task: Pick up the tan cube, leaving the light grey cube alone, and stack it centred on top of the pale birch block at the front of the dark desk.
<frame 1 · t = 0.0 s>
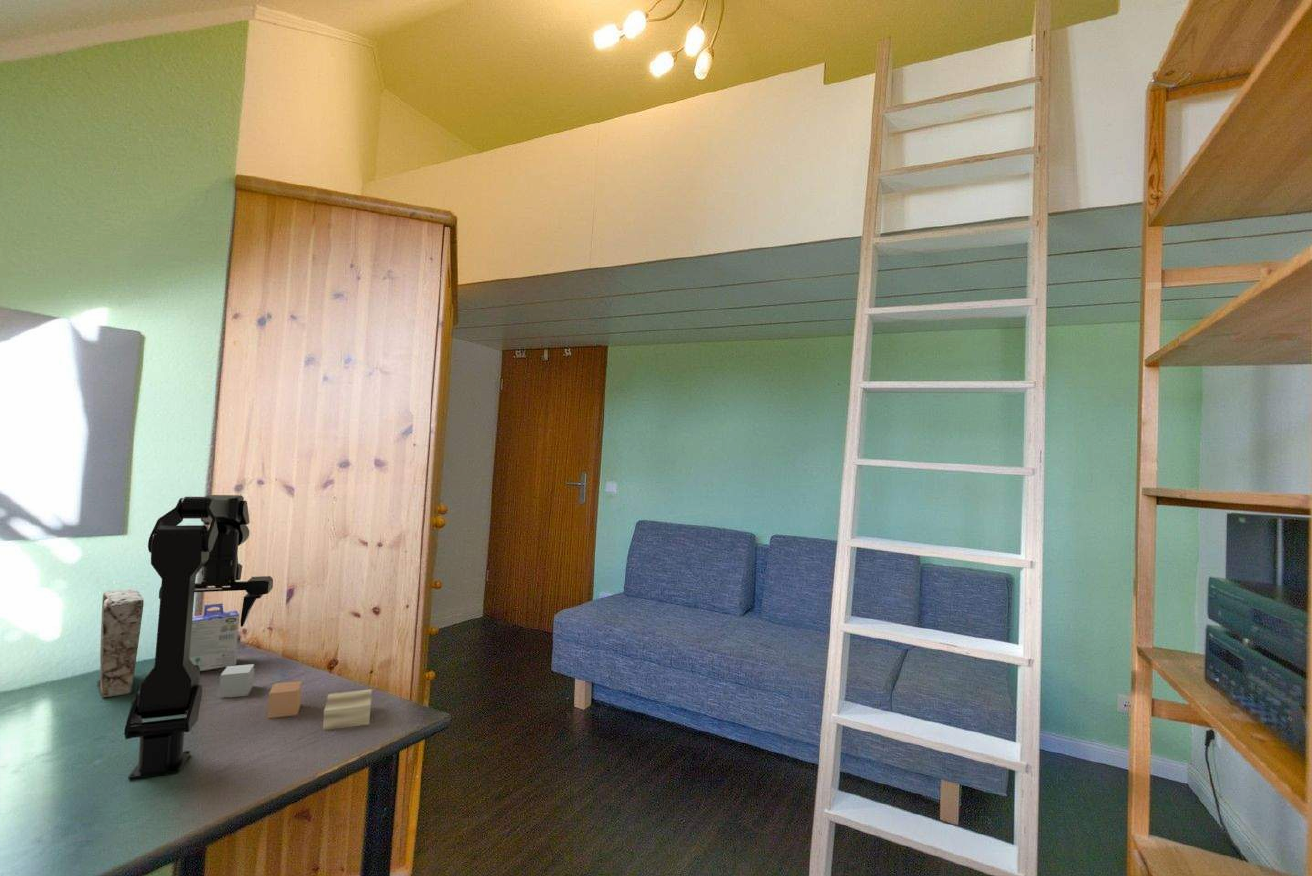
hand: (216, 627, 123), 15 cm above the table, fingers open, 9 cm apart
light grey cube: (236, 692, 126), on the table
birch block: (347, 719, 117), on the table
tan cube: (284, 711, 118), on the table
ink cartridge box: (210, 667, 139), on the table
stone block: (114, 688, 125), on the table
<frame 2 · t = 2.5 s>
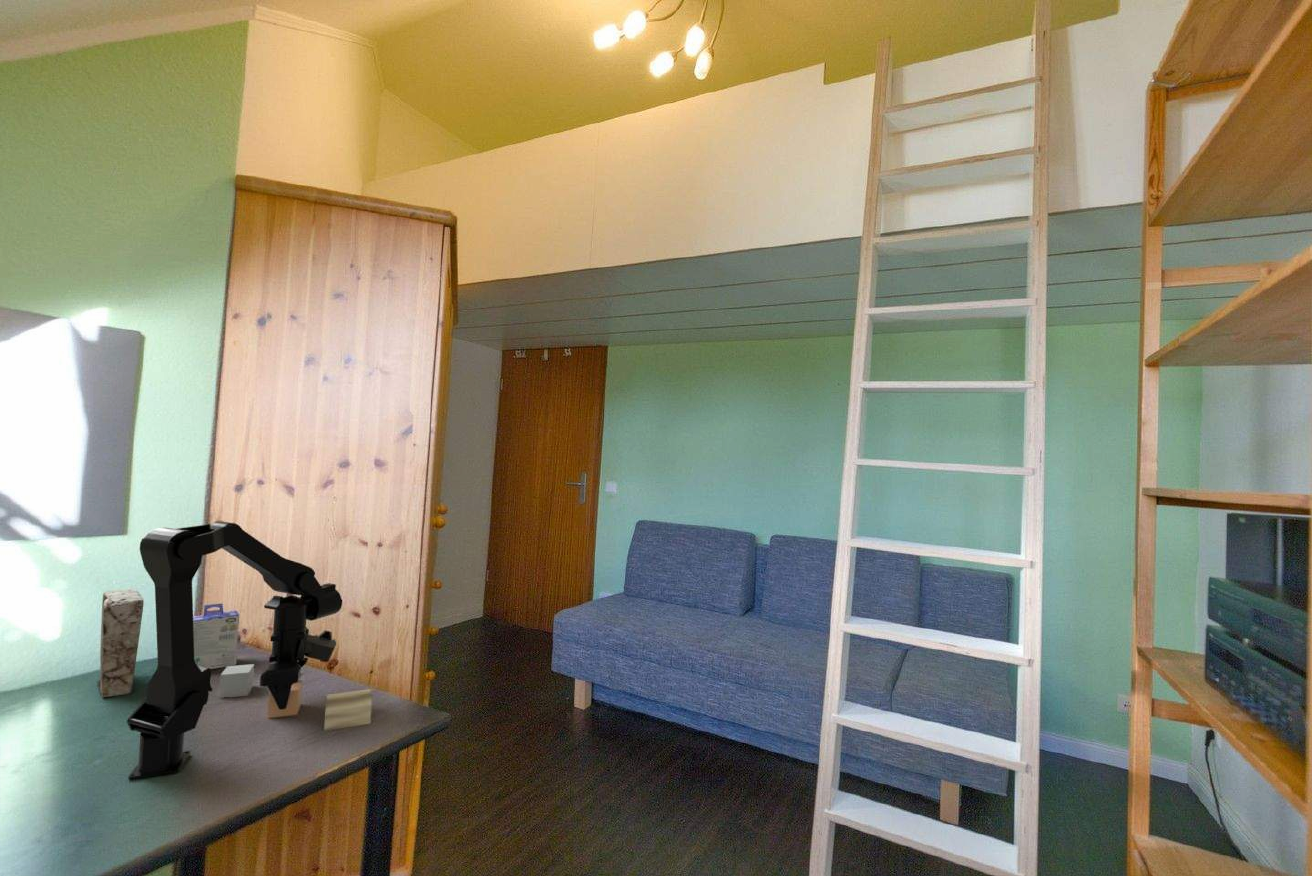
hand: (285, 703, 118), 2 cm above the table, fingers closed on tan cube, 5 cm apart
tan cube: (284, 711, 118), on the table, touching gripper
everything else where it was.
when the fingers open (7 cm above the table, at t = 5.9 s): tan cube drops 2 cm, point 4 cm above the table.
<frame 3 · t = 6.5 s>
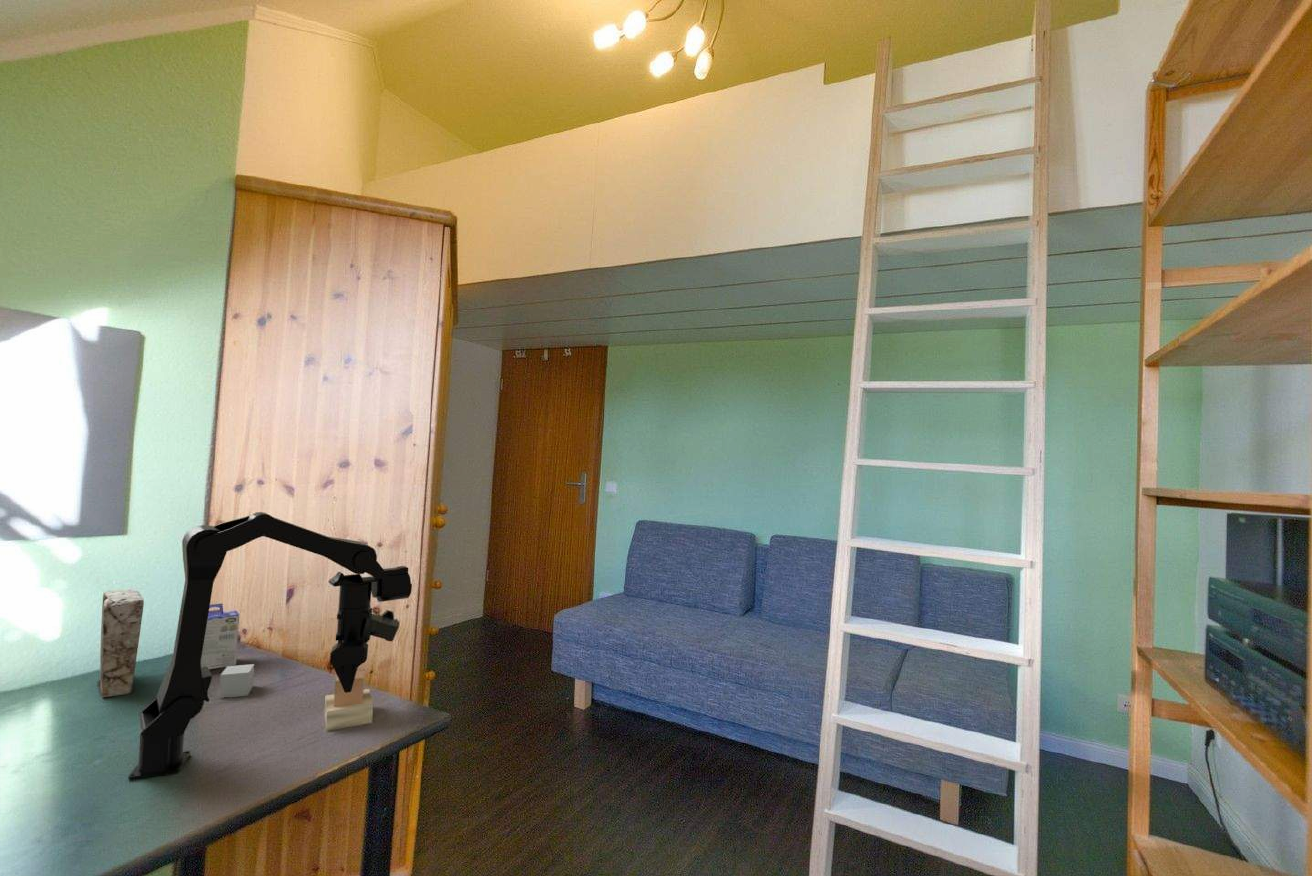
hand: (349, 683, 117), 7 cm above the table, fingers open, 9 cm apart
tan cube: (348, 699, 117), point 4 cm above the table
everything else where it was.
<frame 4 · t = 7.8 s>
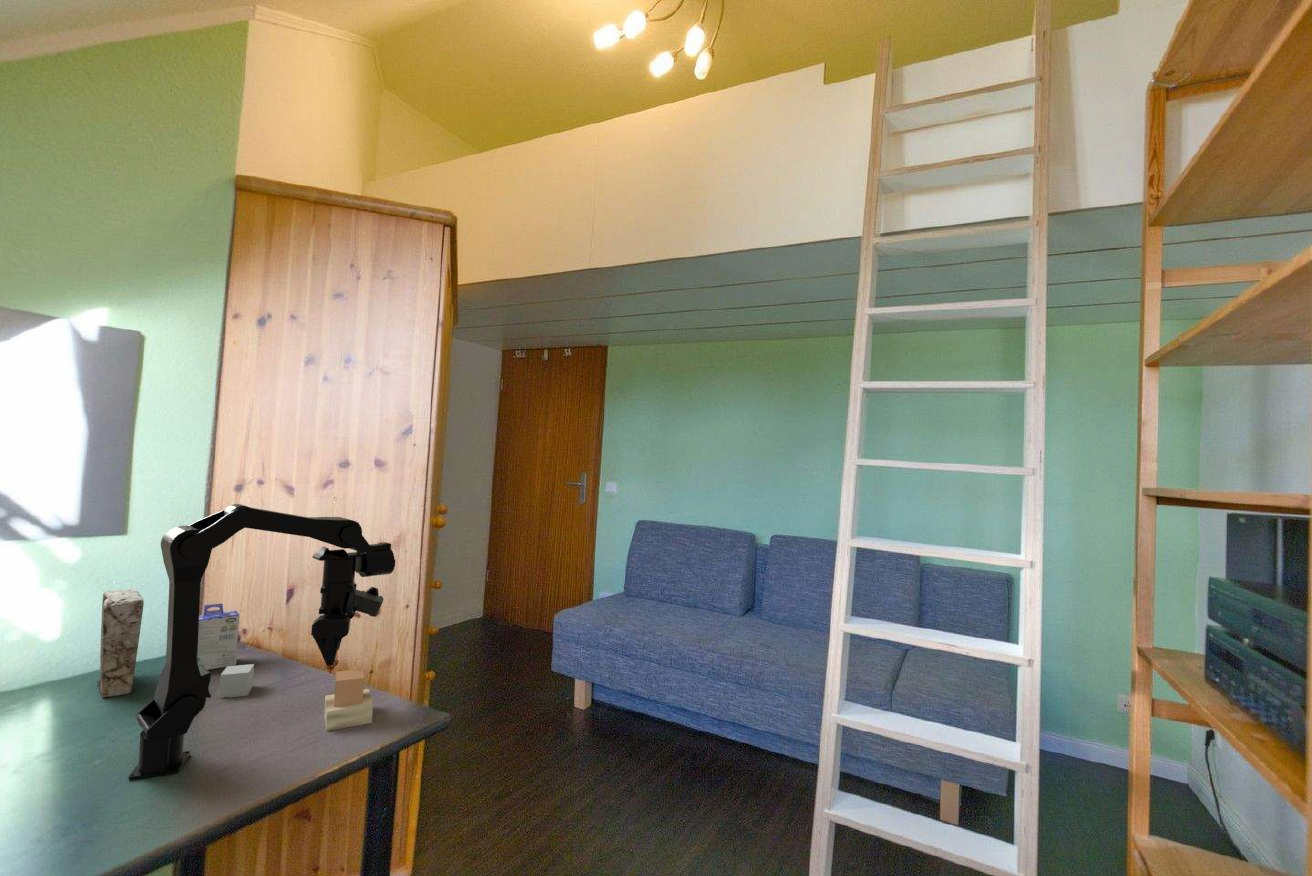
hand: (333, 657, 117), 12 cm above the table, fingers open, 9 cm apart
birch block: (347, 719, 117), on the table, touching tan cube
tan cube: (348, 699, 117), point 4 cm above the table, touching birch block
everything else where it was.
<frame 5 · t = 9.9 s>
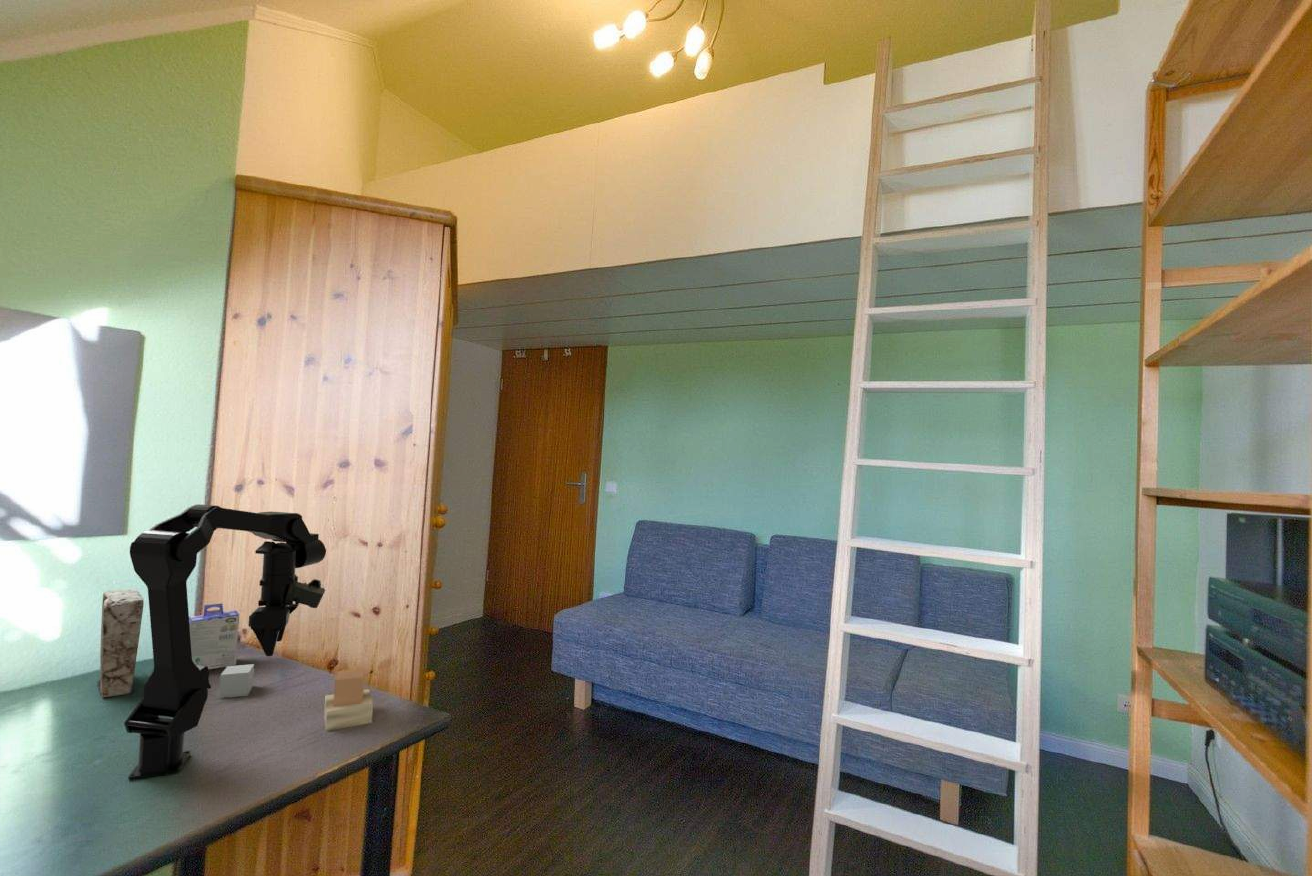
hand: (274, 648, 120), 12 cm above the table, fingers open, 9 cm apart
nothing on the table moved.
at the end: tan cube 0.2 cm off-centre on the birch block, point 4.0 cm above the birch block's base; tan cube tilted 1°; the gripper is holding nothing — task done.
